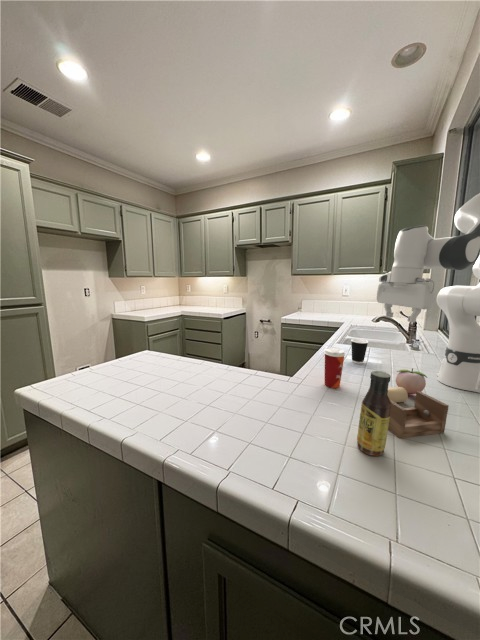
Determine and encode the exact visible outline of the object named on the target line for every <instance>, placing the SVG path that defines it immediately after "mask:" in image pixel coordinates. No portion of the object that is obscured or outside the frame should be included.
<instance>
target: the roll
mask: <svg viewBox="0 0 480 640" xmlns="http://www.w3.org/2000/svg"><path fill="white" fill-rule="evenodd" d="M387 395H388V397H389V399H390V400H392V401H393V402H395V403H397V404H398V403H406V402H407V401H408V400H409V399H408V398H409V395H408V393H407V391H406V390H405V389H404V388H403V387H398V386H394V387H388V393H387Z"/></svg>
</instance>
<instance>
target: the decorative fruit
mask: <svg viewBox="0 0 480 640" xmlns="http://www.w3.org/2000/svg"><path fill="white" fill-rule="evenodd" d="M396 373H397V374H396V376H395V383H396V387H403V388H404V389H405V390H406V391H407V393H408V396H410V395H416V392H417V391H420V392H422V393H423V391H424V390H425V388H426V384H427V383H426V378H428V376H427V375H426V374H424V373H423V372H421V371H415V370H414V368H411V370H408V369H404V368H403V369H399V370H397V371H396Z"/></svg>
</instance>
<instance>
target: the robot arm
mask: <svg viewBox="0 0 480 640" xmlns="http://www.w3.org/2000/svg"><path fill="white" fill-rule="evenodd" d="M454 225H455V227H456V228H457V230H458V231H460V232H461V233H463V234H461V235H456V236H450V237H441V238H435V237H433V236H431V234H429V228H428V226H427V225H415V226H410V227H405V228H403V229H401V230H400V231H399V232H398V234H397V237H396V240H395V244H394V252H393V258H394V260H393V264H392V267H391V271H389V272H387V273H384V274H382V275H380V276H379V278H378V281H379V284H378V287H377V291H376V301H377V303H378V304H379V303H380V304H384V306H383V308H384V310H385V317H386V318H390V319H391V318H393V317H394V311H393V310H392V307H393V306H399V307H405V308H411V312H412V313H410V314H411V315H408V316H407V322H409V323H416V321H417V318H418V316H419V315H420V314H421V313H422V310H432V309H433V308H434V307H435V306H434V305H435V297H436V304H437V307H439V309H441V310H442V312H443V313H444V315H445V316H446V319H447V322H448V327H449V333H448V334H449V335H448V343H447V346H446V347H445V351H444V352H445V354H444V355H445V357H444V358H443V359H442V362H441V365H440V369H439V372H437V373H436V377H437V381H438V382H440V383H441V384H443V385H446V386H448V387H451V388H454V389H458V390H465V391H470V392H475V393H478V394H480V324H478V322H477V320H476V318H475V316H477V317H480V192H479V193H477V194H475V195H474V196H473V197H472V198H470V199H469V200H468V201H466V202H465V203H464V204H463V205H461V207H459V209H458V210H457V211H456V213H455V215H454ZM473 264H474V265H473ZM471 265H473V266H472V270H471V271H472V274H473V275H474V277H475V278H476V279H477V280H479V283H478V284H477V285H475V286H474V285H452V286H446V287H443V288H441V289H440V290H439V292H438V293H437V296H436V294H435V293H436V292H435V286H436V283H435V282H434V280H433V279H432V278H429V277H425V278H424V277H423V275H424V270H452V271H453V270H454V271H455V270H456V271H463V270H465V269H467V268H469V267H470V266H471ZM392 311H393V312H392Z"/></svg>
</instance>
